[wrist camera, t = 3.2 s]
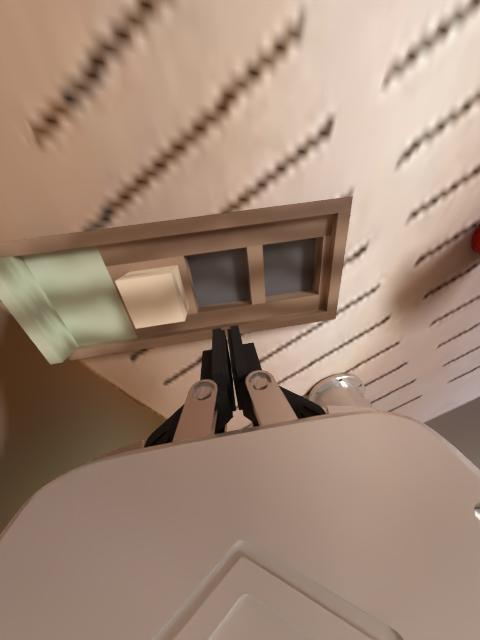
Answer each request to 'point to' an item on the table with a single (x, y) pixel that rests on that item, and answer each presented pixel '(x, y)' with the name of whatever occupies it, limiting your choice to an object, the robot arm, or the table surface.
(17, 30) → the table surface
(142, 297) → the maple block
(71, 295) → the tray
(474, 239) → the plastic cup
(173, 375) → the table surface
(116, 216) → the table surface
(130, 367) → the table surface
